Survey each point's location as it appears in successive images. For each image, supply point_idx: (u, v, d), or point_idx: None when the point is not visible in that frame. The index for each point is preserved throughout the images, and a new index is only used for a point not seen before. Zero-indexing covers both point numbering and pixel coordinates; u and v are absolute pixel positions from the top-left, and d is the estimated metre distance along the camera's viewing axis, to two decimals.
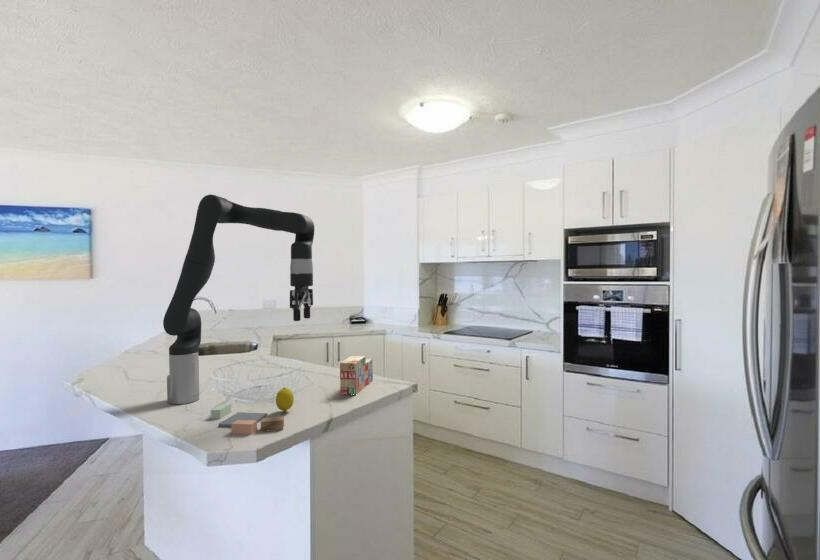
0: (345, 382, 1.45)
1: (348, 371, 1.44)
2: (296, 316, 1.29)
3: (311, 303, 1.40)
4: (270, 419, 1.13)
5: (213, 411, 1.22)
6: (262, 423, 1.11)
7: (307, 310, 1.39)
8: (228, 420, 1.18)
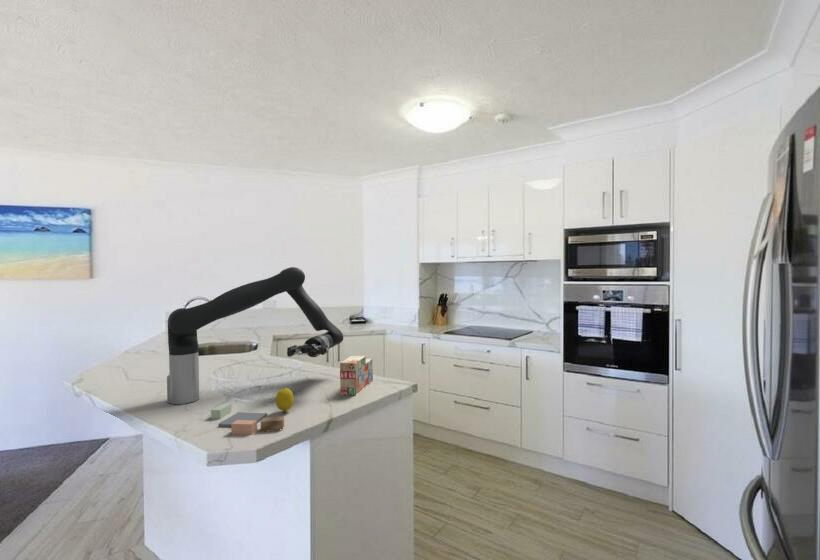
0: (345, 382, 1.45)
1: (348, 371, 1.44)
2: (315, 353, 1.40)
3: None
4: (270, 419, 1.13)
5: (213, 411, 1.22)
6: (262, 423, 1.11)
7: (292, 353, 1.43)
8: (228, 420, 1.18)
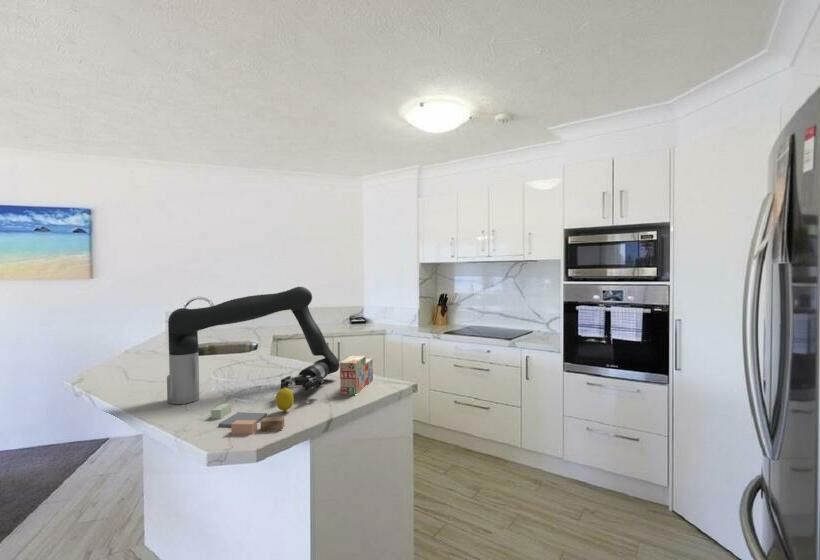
0: (345, 382, 1.45)
1: (348, 371, 1.45)
2: (310, 387, 1.35)
3: None
4: (270, 419, 1.13)
5: (213, 411, 1.22)
6: (262, 423, 1.11)
7: (286, 385, 1.38)
8: (228, 420, 1.18)
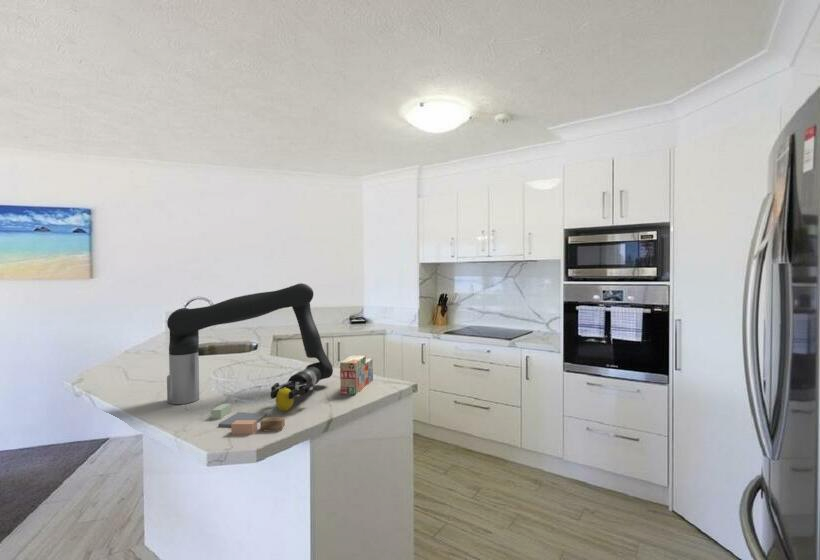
0: (345, 382, 1.45)
1: (348, 370, 1.45)
2: (294, 395, 1.26)
3: None
4: (270, 419, 1.13)
5: (214, 411, 1.22)
6: (262, 423, 1.11)
7: None
8: (228, 420, 1.18)
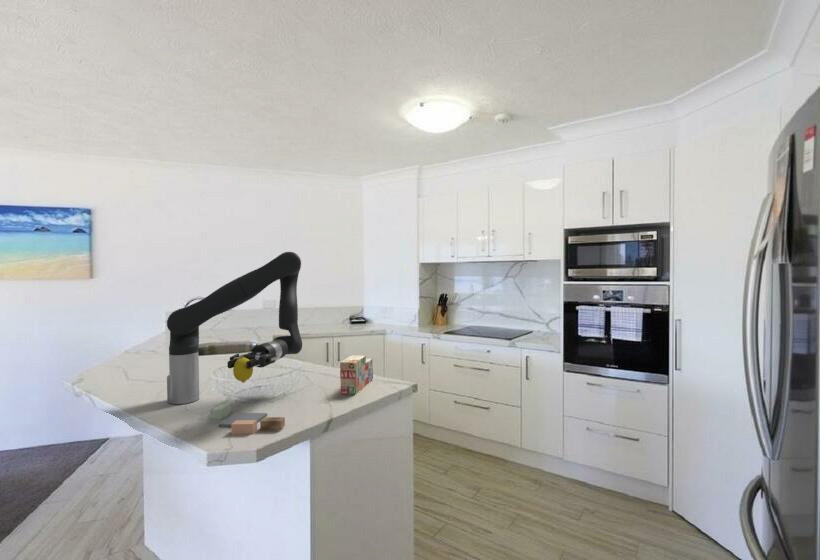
0: (346, 382, 1.46)
1: (348, 370, 1.45)
2: (253, 365, 1.18)
3: None
4: (270, 419, 1.13)
5: (214, 411, 1.22)
6: (261, 422, 1.11)
7: None
8: (228, 420, 1.18)
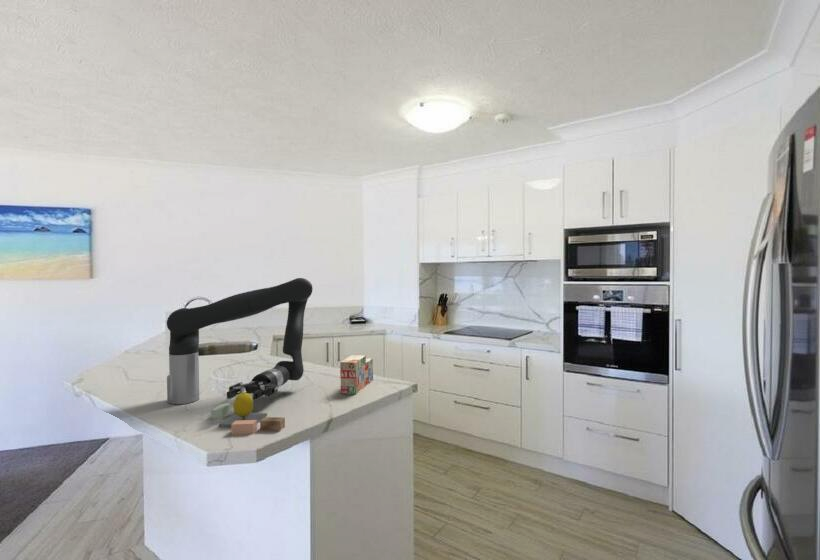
0: (346, 381, 1.46)
1: (348, 370, 1.46)
2: (259, 395, 1.19)
3: None
4: (270, 419, 1.13)
5: (214, 411, 1.22)
6: (261, 422, 1.12)
7: (234, 394, 1.22)
8: (228, 420, 1.18)
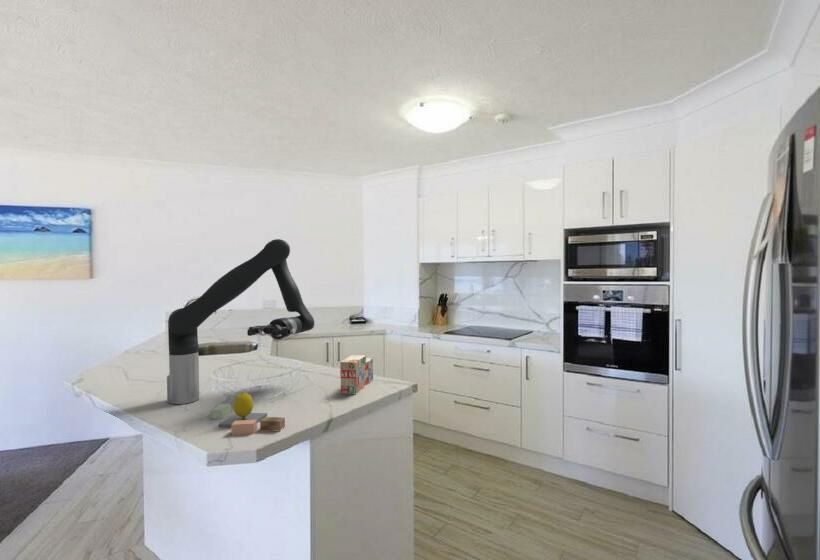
0: (346, 381, 1.46)
1: (348, 370, 1.46)
2: (277, 333, 1.31)
3: None
4: (270, 419, 1.13)
5: (214, 411, 1.22)
6: (261, 422, 1.12)
7: (254, 332, 1.34)
8: (228, 420, 1.18)
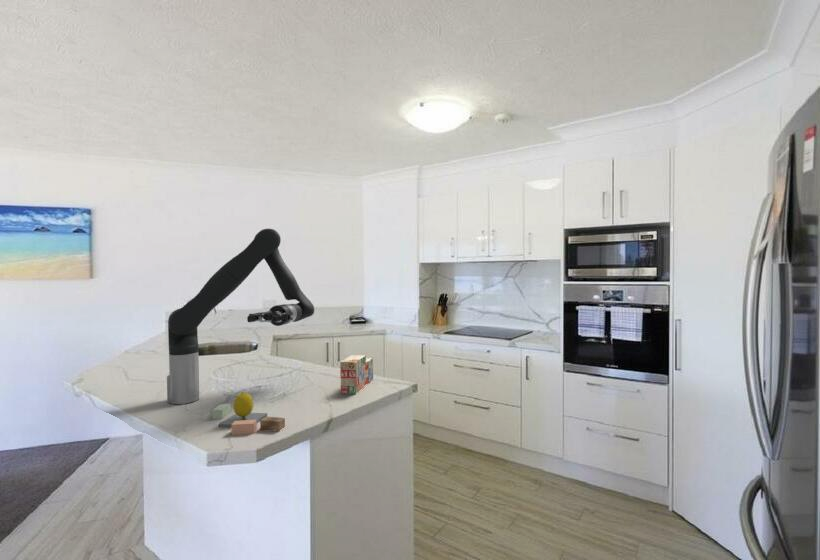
0: (346, 381, 1.46)
1: (348, 370, 1.46)
2: (277, 319, 1.31)
3: None
4: (270, 419, 1.13)
5: (214, 411, 1.22)
6: (261, 422, 1.12)
7: (254, 319, 1.34)
8: (228, 420, 1.18)
